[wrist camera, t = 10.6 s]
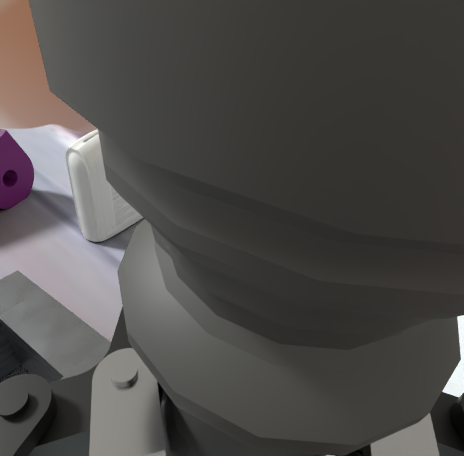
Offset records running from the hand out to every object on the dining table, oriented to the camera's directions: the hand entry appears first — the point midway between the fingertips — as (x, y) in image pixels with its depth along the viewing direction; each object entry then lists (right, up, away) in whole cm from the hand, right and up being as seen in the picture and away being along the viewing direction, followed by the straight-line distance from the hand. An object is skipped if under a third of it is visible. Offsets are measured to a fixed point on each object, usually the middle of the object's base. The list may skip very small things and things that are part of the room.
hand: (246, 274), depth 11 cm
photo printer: (-15, +2, +33) cm, 36 cm away
